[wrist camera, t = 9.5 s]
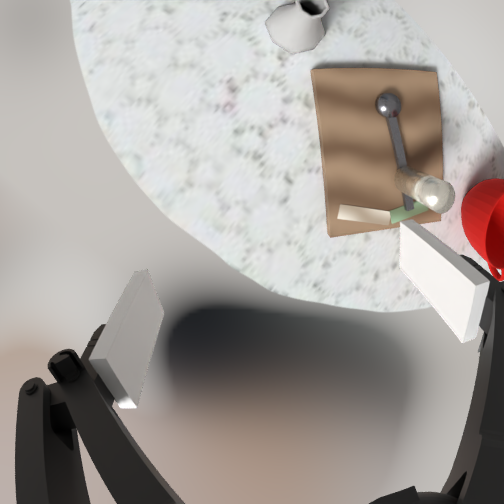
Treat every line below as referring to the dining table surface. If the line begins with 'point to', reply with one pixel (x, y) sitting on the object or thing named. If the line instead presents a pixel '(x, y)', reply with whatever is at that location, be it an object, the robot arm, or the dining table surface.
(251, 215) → the dining table surface
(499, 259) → the ceramic cup
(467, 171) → the dining table surface
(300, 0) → the flask
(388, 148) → the board
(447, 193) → the metal crank handle
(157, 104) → the dining table surface
